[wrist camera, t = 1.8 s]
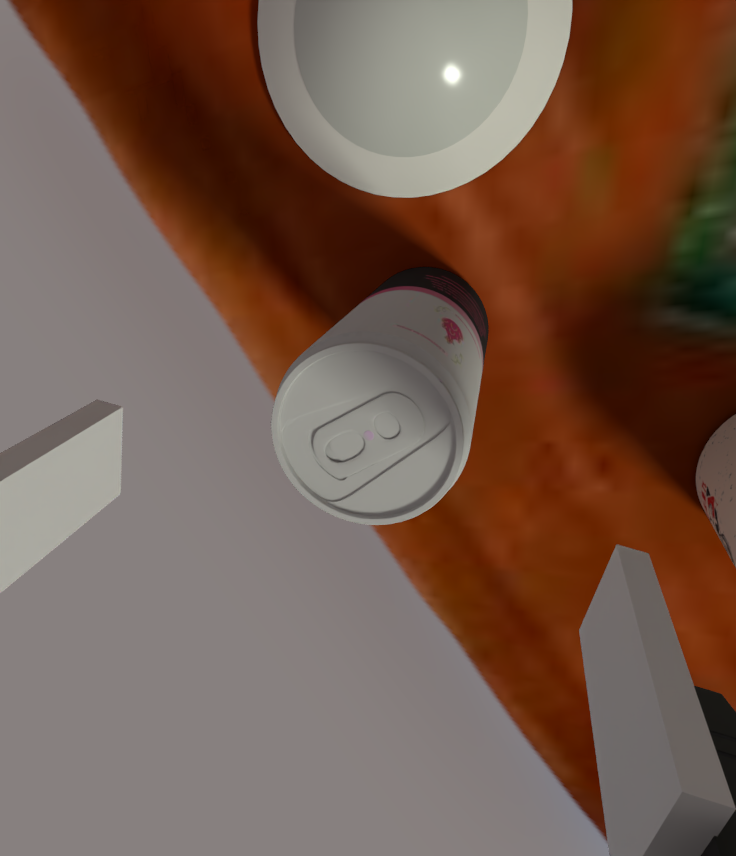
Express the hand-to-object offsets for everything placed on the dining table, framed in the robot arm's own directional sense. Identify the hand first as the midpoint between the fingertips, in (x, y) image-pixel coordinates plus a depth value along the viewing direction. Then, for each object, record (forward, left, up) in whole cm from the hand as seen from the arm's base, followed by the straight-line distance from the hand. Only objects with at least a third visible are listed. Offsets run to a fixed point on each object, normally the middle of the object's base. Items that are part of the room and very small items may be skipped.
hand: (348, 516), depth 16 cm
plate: (-13, -5, -19) cm, 24 cm away
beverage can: (0, -1, -19) cm, 19 cm away
